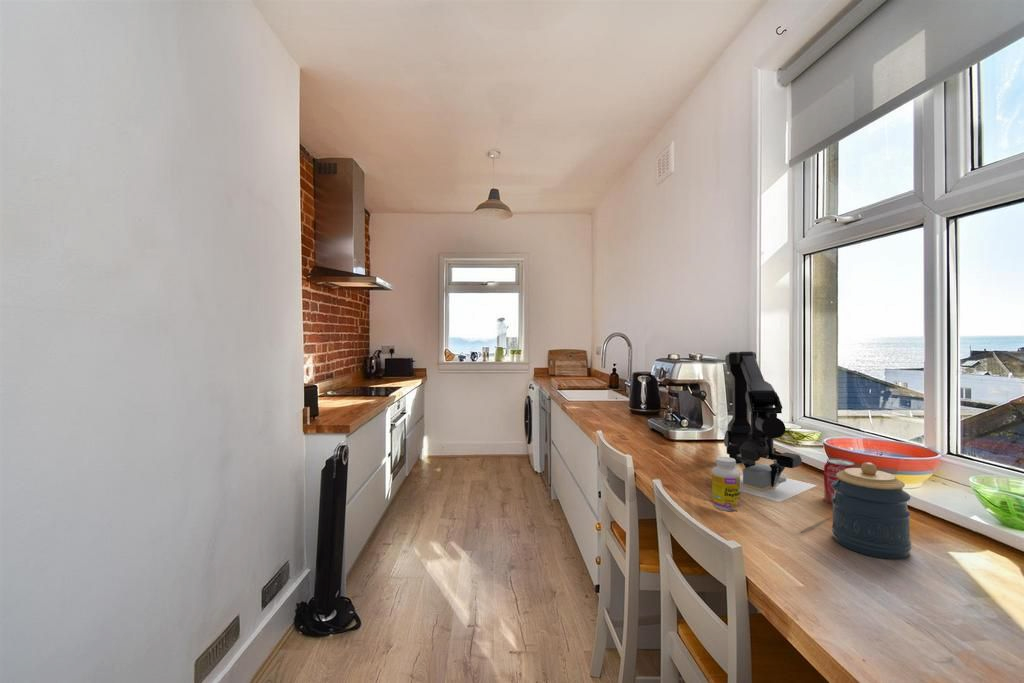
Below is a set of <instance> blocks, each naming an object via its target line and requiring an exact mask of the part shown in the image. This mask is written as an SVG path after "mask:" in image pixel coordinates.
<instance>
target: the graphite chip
mask: <svg viewBox="0 0 1024 683" xmlns="http://www.w3.org/2000/svg"><path fill="white" fill-rule="evenodd" d="M786 478H787V477H784V478H783V476H780V477H779V484H780V483H782V482H785V481H786Z"/></svg>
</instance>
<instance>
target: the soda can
mask: <svg viewBox="0 0 1024 683" xmlns="http://www.w3.org/2000/svg"><path fill="white" fill-rule="evenodd" d="M847 468H856V466H855V462H853V461H851V460H848V459H843V458H827V459H826V463H825V464H824V467H823V488H824V489H823V493H824V495H823V497H824V501H825V502H827V503H829V504H832V505H833V502H832V498H833V497H834V493H835V490H834V489H833V488H832V486H831V484H832V483H833V482H834V481H837V480H838V478H837V477H836V473H838V472H840V471H843V470H845V469H847Z"/></svg>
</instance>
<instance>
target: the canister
mask: <svg viewBox="0 0 1024 683" xmlns="http://www.w3.org/2000/svg"><path fill="white" fill-rule="evenodd" d="M836 477H837V478H838V480H837V481H834V482H833V483H832V484H831V486H832V488H833V489H834V490H835V493H834V497H833V498H832V502H833V504H832V520H833V521H832V525H831V528H832V529H831V531H832V533H833V538H834V540H835V541H836V542H837V543H838V544H839V545H841V546H842V547H844V548H847V549H849V550H851V551H854V552H857V553H859V554H862V555H866V556H869V557H876V558H879V559H880V558H881V559H887V560H888V559H889V560H891V559H892V560H898V559H900V560H901V559H906V558H907V557H909V556H910V553H911V549H912V541H911V526H910V525H911V524H910V523H911V522H910V521H911V519H910V518H911V515H912V514H911V511H910V510H909V509H908V502H909V501H910V500H911V499H912V498H911V495H910V494H909V493H908V492H906V491H905V490H903V489H904V487H905V486H906V485H905V483H904V482H903V480H901V479H898V478H897V477H896V476H895V475H893V474H891V473H889V472H886V471H883V470H878V468H877V466H876V465H875V464H874V463H872V462H868V461H867V462H863V463H862V464H861V466H860V467H855V468H847V469H845V470H843V471H840V472H838V473H836Z"/></svg>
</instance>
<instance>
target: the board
mask: <svg viewBox="0 0 1024 683" xmlns="http://www.w3.org/2000/svg"><path fill="white" fill-rule="evenodd" d="M782 477H783V476H782ZM783 478H786V481H785V482H782V483H780V484H779V485H778V486H776V487H773V488H771V489H768V490H766V491H763V492H762V491H759V490H755V489H751V488H748V487H744V486H743V473H742V474H740V492H744V493H747V494H750V495H754V496H756V497H759V498H764V499H767V500H771V501H774V502H777V503H780V502H783V501H784V500H787V499H789V498H791V497H792V498H793V497H794V496H796V495H799V494H801V493H804V492H806V491H808V490H810V489H812V488H815V487H817V486H818V485H817V484H813V483H809V482H804V481H801V480H796V479H791V478H789V477H783Z"/></svg>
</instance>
